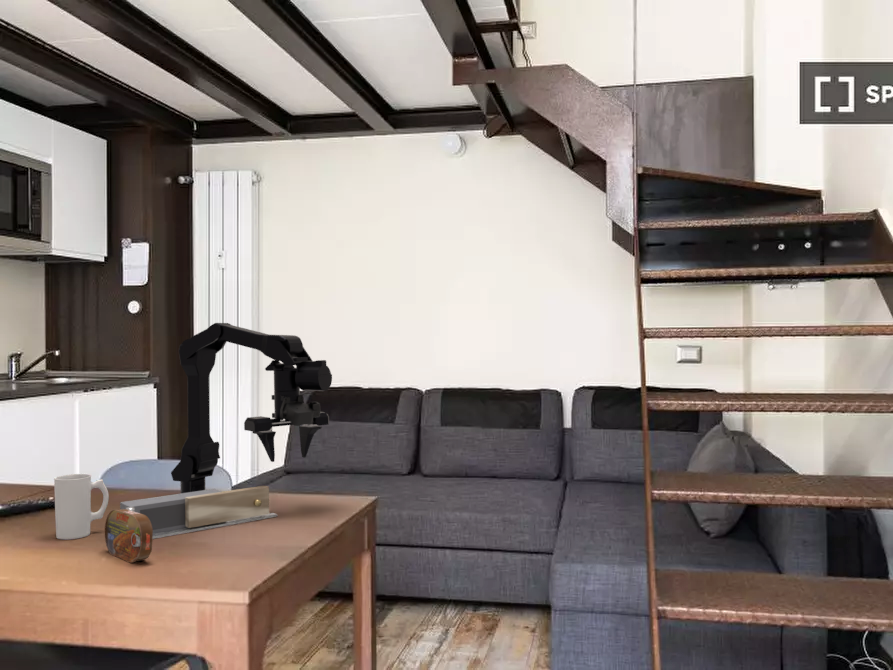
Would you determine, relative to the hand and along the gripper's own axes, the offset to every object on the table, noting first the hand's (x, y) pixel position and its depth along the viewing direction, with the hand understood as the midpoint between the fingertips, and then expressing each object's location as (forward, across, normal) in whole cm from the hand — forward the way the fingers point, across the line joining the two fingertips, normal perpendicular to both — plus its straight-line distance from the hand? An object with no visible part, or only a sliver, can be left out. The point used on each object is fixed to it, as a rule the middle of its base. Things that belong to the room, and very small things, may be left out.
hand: (288, 459), depth 171 cm
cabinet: (+12, -24, +4) cm, 28 cm away
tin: (+12, -38, -10) cm, 42 cm away
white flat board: (+12, -20, 0) cm, 23 cm away
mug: (+12, -40, +12) cm, 44 cm away
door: (+11, -14, 0) cm, 18 cm away
